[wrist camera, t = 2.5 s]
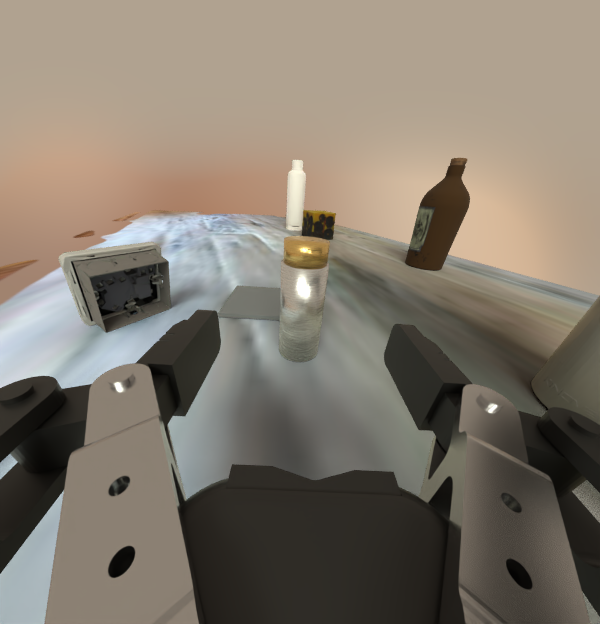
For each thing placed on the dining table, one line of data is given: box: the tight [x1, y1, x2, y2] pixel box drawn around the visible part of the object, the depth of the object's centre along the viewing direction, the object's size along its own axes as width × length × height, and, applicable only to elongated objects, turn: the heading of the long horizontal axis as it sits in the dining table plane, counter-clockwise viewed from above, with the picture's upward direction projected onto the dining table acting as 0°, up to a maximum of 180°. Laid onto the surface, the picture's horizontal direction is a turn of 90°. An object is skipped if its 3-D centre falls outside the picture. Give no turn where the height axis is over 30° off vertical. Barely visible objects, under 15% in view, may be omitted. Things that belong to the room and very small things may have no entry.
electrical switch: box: [59, 242, 171, 332], centre depth 26 cm, size 9×5×9 cm, turn 148°
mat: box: [218, 286, 281, 320], centre depth 34 cm, size 10×10×1 cm
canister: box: [279, 236, 330, 362], centre depth 22 cm, size 4×4×12 cm
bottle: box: [286, 160, 306, 231], centre depth 100 cm, size 8×8×28 cm
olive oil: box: [406, 158, 470, 270], centre depth 56 cm, size 11×11×25 cm
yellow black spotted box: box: [302, 210, 336, 240], centre depth 88 cm, size 10×10×10 cm
